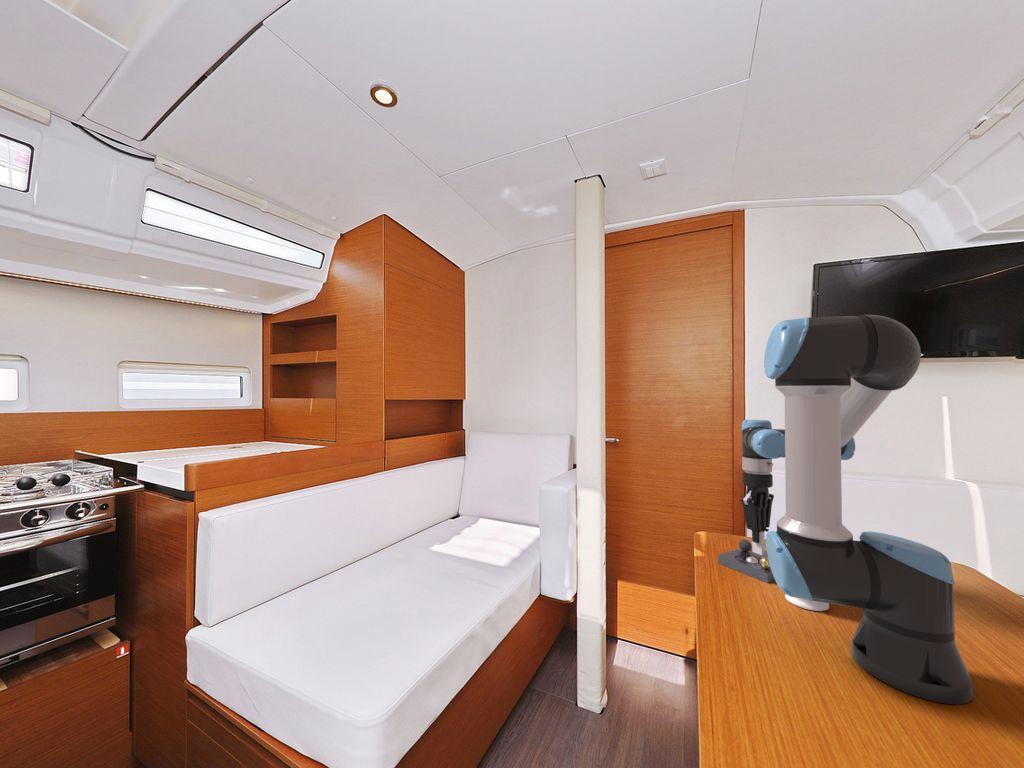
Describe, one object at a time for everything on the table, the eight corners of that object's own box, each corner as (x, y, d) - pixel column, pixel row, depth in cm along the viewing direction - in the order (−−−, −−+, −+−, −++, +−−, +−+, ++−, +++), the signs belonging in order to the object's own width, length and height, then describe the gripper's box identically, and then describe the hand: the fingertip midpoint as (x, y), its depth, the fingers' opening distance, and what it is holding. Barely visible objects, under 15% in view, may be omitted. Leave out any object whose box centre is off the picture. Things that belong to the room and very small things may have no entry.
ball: (754, 562, 109) (760, 557, 111) (741, 557, 112) (748, 552, 114) (755, 573, 109) (762, 568, 111) (743, 568, 112) (750, 563, 114)
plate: (767, 583, 103) (767, 573, 103) (718, 563, 115) (718, 554, 115) (799, 571, 110) (799, 562, 110) (750, 553, 123) (750, 545, 123)
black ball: (747, 554, 116) (747, 542, 116) (736, 550, 119) (736, 538, 119) (754, 552, 117) (753, 540, 118) (743, 548, 120) (742, 537, 121)
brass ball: (768, 571, 104) (768, 560, 104) (757, 567, 107) (757, 556, 107) (775, 569, 105) (774, 558, 106) (763, 565, 108) (763, 554, 108)
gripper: (757, 476, 108) (758, 562, 107) (783, 472, 114) (784, 553, 113) (731, 471, 114) (732, 552, 113) (757, 468, 120) (758, 545, 119)
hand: (758, 553), depth 113 cm, fingers closed
